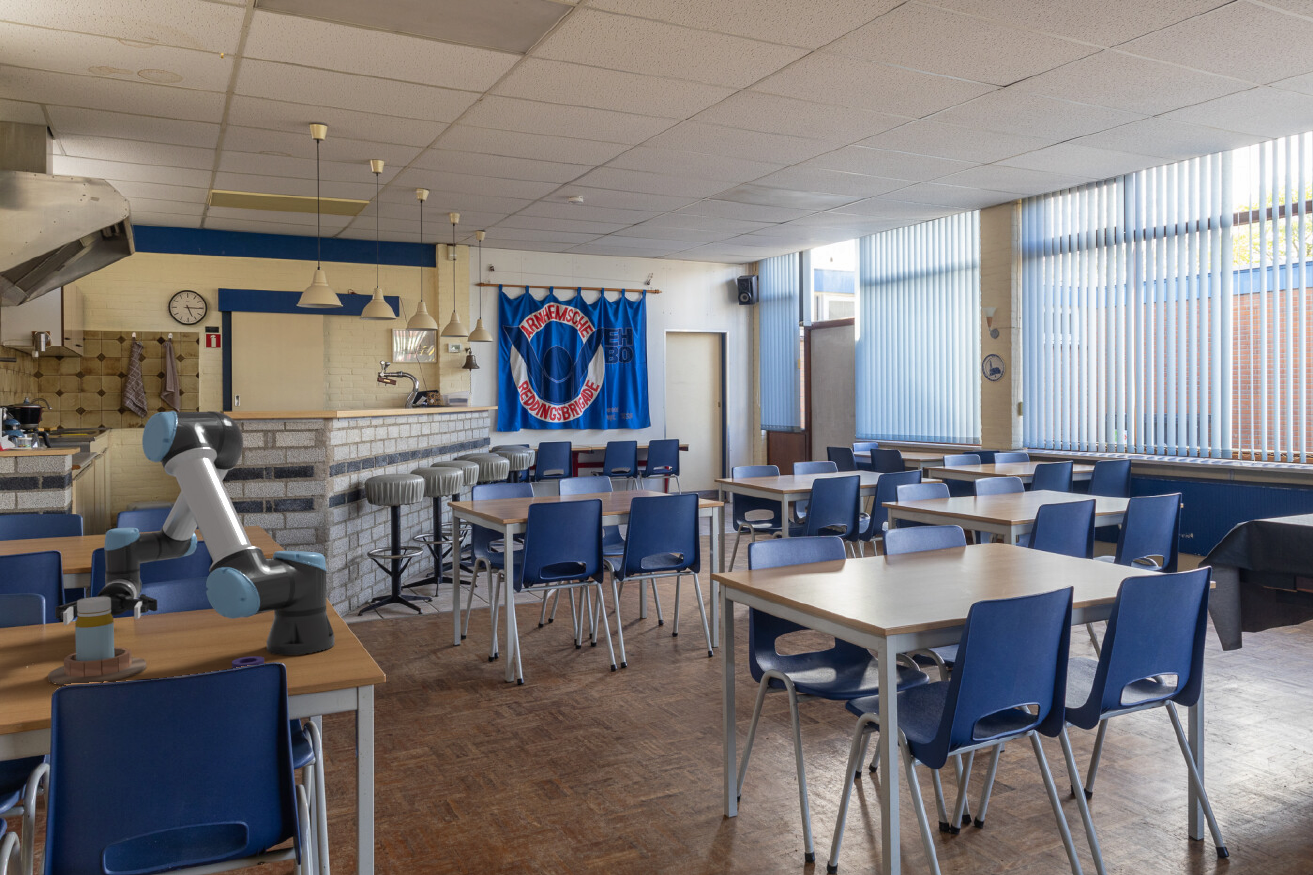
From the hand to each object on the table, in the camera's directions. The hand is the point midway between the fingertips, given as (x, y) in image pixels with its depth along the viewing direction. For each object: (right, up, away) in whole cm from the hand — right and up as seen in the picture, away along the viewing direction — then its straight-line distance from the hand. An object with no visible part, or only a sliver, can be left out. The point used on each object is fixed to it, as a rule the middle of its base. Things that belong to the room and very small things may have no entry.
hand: (101, 616), depth 198 cm
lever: (+35, -12, -8) cm, 38 cm away
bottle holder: (+3, -11, -5) cm, 13 cm away
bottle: (+2, -11, -5) cm, 12 cm away
